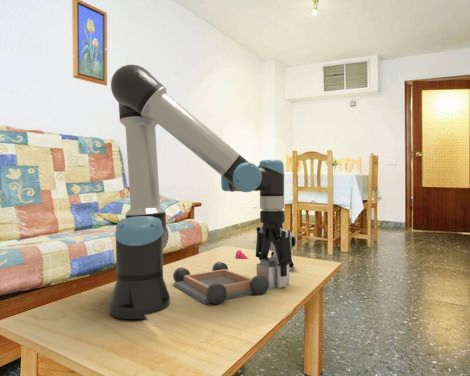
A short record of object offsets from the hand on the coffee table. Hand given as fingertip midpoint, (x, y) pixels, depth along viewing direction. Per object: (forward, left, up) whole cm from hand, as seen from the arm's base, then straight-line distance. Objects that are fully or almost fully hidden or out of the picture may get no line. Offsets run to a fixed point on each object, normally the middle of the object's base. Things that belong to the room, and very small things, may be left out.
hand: (273, 283), depth 107 cm
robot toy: (+14, +13, -1) cm, 19 cm away
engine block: (0, 0, 0) cm, 0 cm away
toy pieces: (+14, +33, -1) cm, 35 cm away
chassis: (-16, +6, 0) cm, 17 cm away
